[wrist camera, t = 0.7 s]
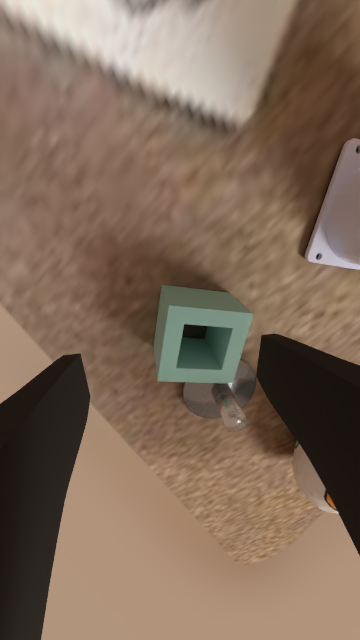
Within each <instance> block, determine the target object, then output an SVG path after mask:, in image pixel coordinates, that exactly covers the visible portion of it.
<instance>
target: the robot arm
mask: <svg viewBox="0 0 360 640" xmlns="http://www.w3.org/2000/svg"><path fill="white" fill-rule="evenodd" d="M357 147H358V152H357V153H356V148H357ZM317 254H319V256H318V258H317V259H316V255H317ZM305 259H306V261H309V262H314V263H320V264H326V265H333V266H339V267H345V268H351V269H358V270H360V139H356V138H353V139H350V140H348V141H347V142H346V143H345V144H344V146H343V148H342V151H341V154H340V157H339V159H338V162H337V165H336V168H335V171H334V174H333V176H332V179H331V182H330V185H329V188H328V191H327V193H326V196H325V199H324V202H323V205H322V207H321V210H320V213H319V216H318V219H317V222H316V224H315V227H314V230H313V233H312V236H311V239H310V241H309V244H308V247H307V250H306V253H305ZM256 376H257V378H258V380H259V382H260V384H261V387H262V388H263V390H264V392H265V394H266V396H267V398H268V399H269V401H270V402H271V404H272V405H273V407H274V408H275V410H276V411H277V412H278V414H279V415H280V417H281V418H282V420H283V421H284V423H285V424H286V425H287V427H288V428H289V430H290V431H291V433H292V434H293V435H294V437H295V438H296V440H297V441H298V443H299V444H300V446H301V447H302V449H303V450H304V452H305V453H306V455H307V457H308V458H309V460H310V462H311V463H312V465H313V467H314V469H315V471H316V472H317V474H318V476H319V478H320V479H321V481H322V483H323V485H324V487H325V489H326V490H327V492H328V494H329V496H330V498H331V500H332V502H333V504H334V505H335V507H336V509H337V511H338V513H339V515H340V517H341V519H342V521H343V523H344V525H345V527H346V529H347V531H348V533H349V535H350V537H351V539H352V541H353V543H354V545H355V547H356V549H357V551H358V553H359V555H360V366H359V365H357V364H354V363H351V362H348V361H346V360H343V359H340V358H338V357H335V356H332V355H330V354H327V353H325V352H322V351H320V350H317V349H315V348H312V347H310V346H307V345H305V344H303V343H300V342H298V341H295V340H292V339H290V338H287V337H284V336H281V335H278V334H269V335H262V336H261V344H260V351H259V359H258V366H257V374H256ZM89 402H90V393H89V389H88V384H87V380H86V376H85V371H84V367H83V363H82V358H81V354H72V355H63V356H62V357H60V358H59V359H57V360H56V361H55V362H53V363H52V364H51V365H50V366H49V367H47V368H46V369H45V370H44V371H42V372H41V373H40V374H39V375H37V376H36V377H35V378H34V379H32V380H31V381H30V382H29V383H27V384H26V385H25V386H23V387H22V388H21V389H20V390H18V391H17V392H16V393H15V394H13V395H12V396H10V397H9V398H8V399H6V400H5V401H3V402H2V403H1V404H0V640H41V635H42V629H43V622H44V616H45V610H46V603H47V597H48V590H49V584H50V578H51V572H52V567H53V561H54V555H55V549H56V543H57V538H58V533H59V527H60V522H61V517H62V512H63V506H64V501H65V497H66V493H67V489H68V485H69V481H70V478H71V474H72V471H73V467H74V464H75V460H76V457H77V454H78V450H79V446H80V443H81V440H82V436H83V433H84V429H85V425H86V421H87V416H88V409H89Z"/></svg>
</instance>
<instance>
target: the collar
mask: <svg viewBox="0 0 360 640" xmlns="http://www.w3.org/2000/svg"><path fill="white" fill-rule="evenodd" d="M252 318H253V313H252V312H251V311H250V310H249V309H248V308H246V307H245V306H244V305H243V304H242V303H241V302H239V301H238V300H237V299H236V298H235V297H233V296H232V295H231V294H230V293H229V292H221V291H212V290H204V289H195V288H186V287H178V286H169V285H162V286H161V294H160V301H159V308H158V316H157V323H156V330H155V338H154V345H153V349H154V358H155V366H156V374H157V381H162V382H197V383H232V384H233V381H234V377H235V374H236V371H237V367H238V364H239V361H240V357H241V354H242V351H243V347H244V344H245V341H246V337H247V334H248V331H249V328H250V324H251V321H252ZM184 324H189V325H201V326H208V327H207V332H206V336H205V339H198V338H183V337H182V334H183V328H184Z"/></svg>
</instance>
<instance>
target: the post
mask: <svg viewBox="0 0 360 640" xmlns="http://www.w3.org/2000/svg"><path fill="white" fill-rule="evenodd" d="M255 387H256V378H255V374H254V372H253V370H252V369H251V367H250V366H249V365H248V363H247V362H245V361H244V360H243V359H241V358H240V361H239V364H238V367H237V371H236V374H235V377H234V381H233V384H232V383H197V382H184V383H183V388H182V392H183V397H184V401H185V404H186V406H187V407H188V408H189V410H190V411H191V412H193V413H194V414H196V415H198V416H200V417H204V418H222V420H223V423H224V425H225V428H226V429H227V430H228V431H231V432H235V431H239V430H241V429H242V428H244V427H245V425H246V423H247V418H246V416H245V415H244V413H243V411H242V409H241V408H242V407H243V406H244V405H245V404H246V403H247V402H248V401H249V400H250V398H251V397H252V395H253V393H254V390H255Z"/></svg>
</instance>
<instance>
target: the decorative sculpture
mask: <svg viewBox="0 0 360 640" xmlns="http://www.w3.org/2000/svg"><path fill="white" fill-rule="evenodd" d="M292 465H293V471H294V475H295V478H296V481H297V483H298V486H299V488H300V489H301V491H302V492H303V493H304V494H305V495H306V497H307V498H308V499H309V500H310V501H311V502H312V503H314V504H315V505H316V506H317V507H319V508H320V509H321V510H323V511H327V512H330V513H338V511H337V509H336V507H335V505H334V504H333V502H332V500H331V498H330V496H329V494H328V492H327V490H326V489H325V487H324V485H323V483H322V481H321V479H320V478H319V476H318V474H317V472H316V471H315V469H314V467H313V465H312V463H311V462H310V460H309V458H308V457H307V455H306V453H305V452H304V450H303V449H302V447H301V446H300V444H299V443H298V441H296V445H295V448H294V456H293V462H292ZM338 514H339V513H338Z"/></svg>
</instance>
